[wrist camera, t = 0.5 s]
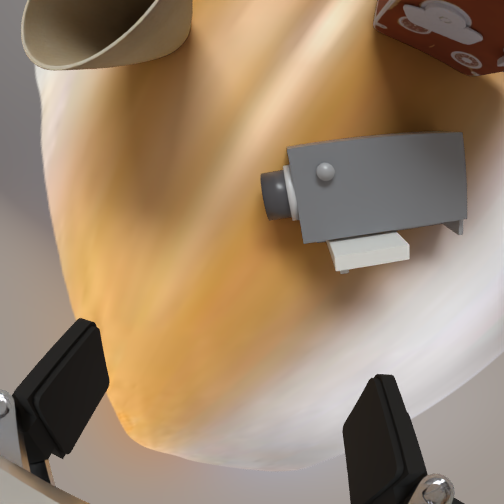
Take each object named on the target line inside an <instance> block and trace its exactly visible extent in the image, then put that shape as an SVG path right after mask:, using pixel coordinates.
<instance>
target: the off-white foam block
mask: <svg viewBox="0 0 504 504" xmlns="http://www.w3.org/2000/svg"><path fill="white" fill-rule="evenodd" d="M326 242H327V245H328V248H329V251H330V254H331V257H332V260H333V264H334V267H335V270H336V271H340V273H341V274H345V273H349V269H354V268H360V267H366V266H372V265H379V264H385V263H390V262H396V261H402V260H408V259H409V244H408V243H407V242H406V241H405V240H404V239H403V238H402V237H401V236H400V235H399V234H398V233H397V232H396V231H395V230H391V231H384V232H378V233H371V234H364V235H358V236H351V237H345V238H338V239H332V240H326Z"/></svg>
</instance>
